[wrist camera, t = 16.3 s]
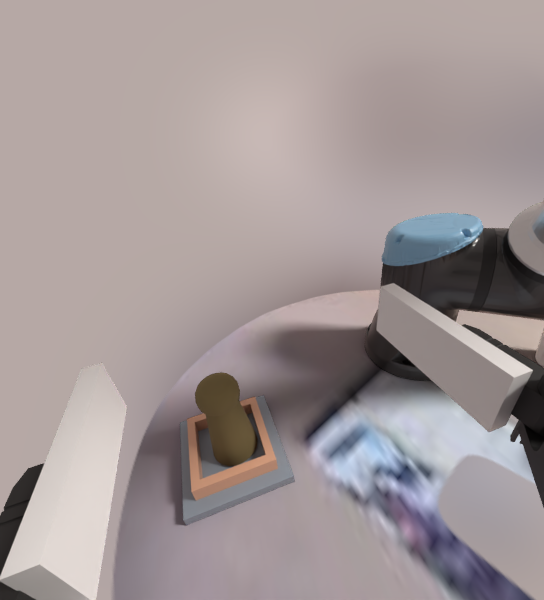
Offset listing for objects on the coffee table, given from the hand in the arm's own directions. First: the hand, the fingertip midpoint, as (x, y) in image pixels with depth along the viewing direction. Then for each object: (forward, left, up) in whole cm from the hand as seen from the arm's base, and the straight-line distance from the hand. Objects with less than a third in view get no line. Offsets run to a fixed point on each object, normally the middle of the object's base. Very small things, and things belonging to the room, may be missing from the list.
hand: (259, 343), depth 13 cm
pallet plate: (+4, -14, -28) cm, 31 cm away
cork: (+3, -14, -27) cm, 30 cm away
